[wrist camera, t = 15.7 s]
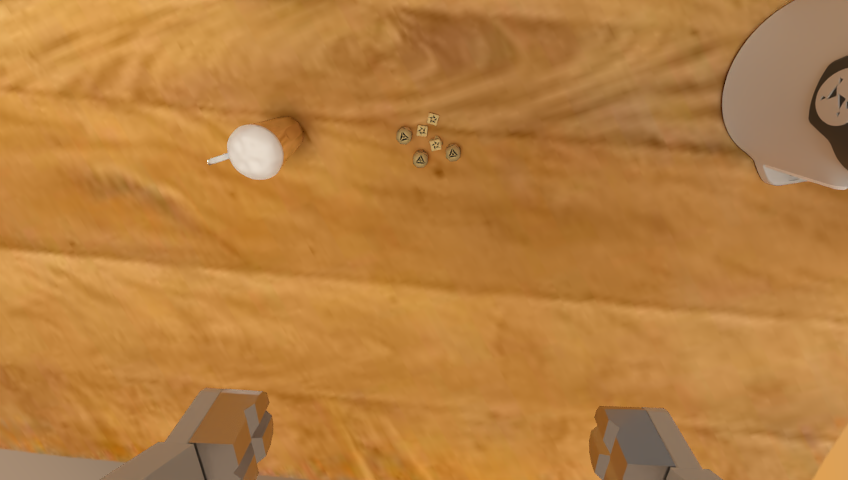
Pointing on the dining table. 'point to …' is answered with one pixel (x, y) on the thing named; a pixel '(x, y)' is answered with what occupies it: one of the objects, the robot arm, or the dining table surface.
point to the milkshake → (262, 147)
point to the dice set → (421, 156)
